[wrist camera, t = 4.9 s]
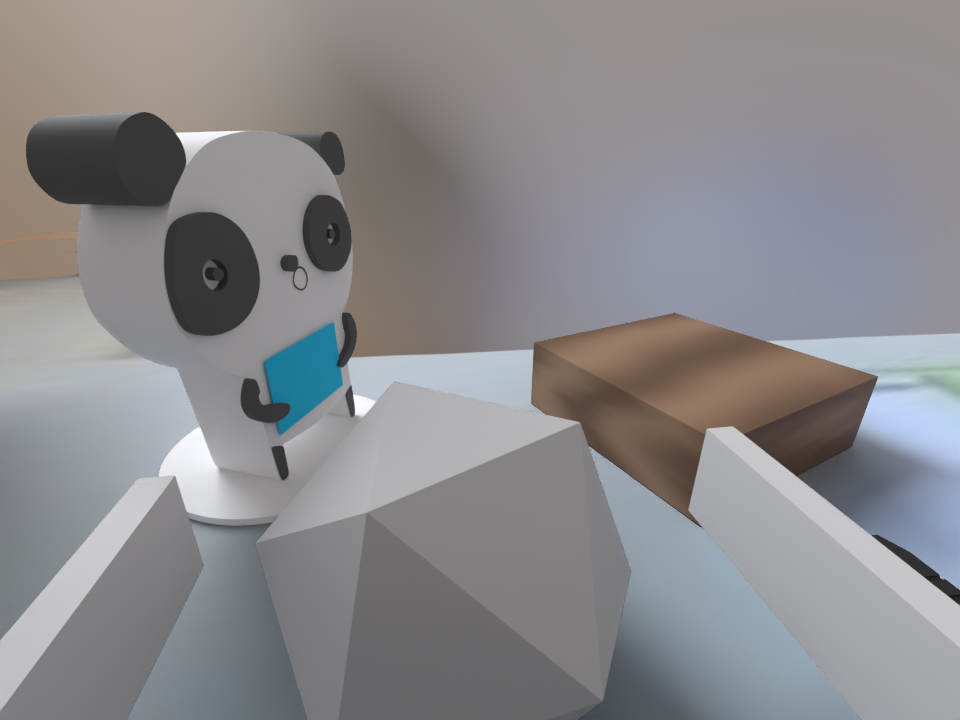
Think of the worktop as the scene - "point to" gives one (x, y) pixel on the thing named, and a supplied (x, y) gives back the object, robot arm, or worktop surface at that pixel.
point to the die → (449, 567)
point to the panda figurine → (219, 290)
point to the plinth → (695, 397)
